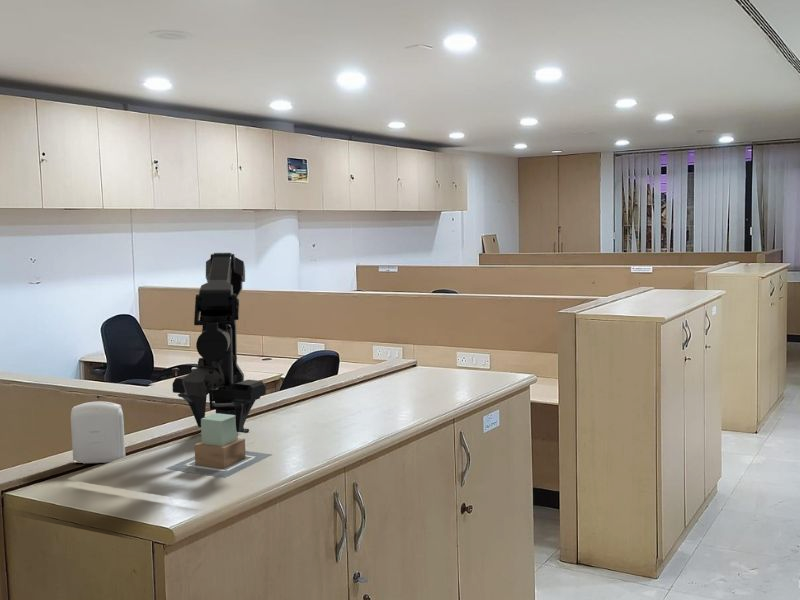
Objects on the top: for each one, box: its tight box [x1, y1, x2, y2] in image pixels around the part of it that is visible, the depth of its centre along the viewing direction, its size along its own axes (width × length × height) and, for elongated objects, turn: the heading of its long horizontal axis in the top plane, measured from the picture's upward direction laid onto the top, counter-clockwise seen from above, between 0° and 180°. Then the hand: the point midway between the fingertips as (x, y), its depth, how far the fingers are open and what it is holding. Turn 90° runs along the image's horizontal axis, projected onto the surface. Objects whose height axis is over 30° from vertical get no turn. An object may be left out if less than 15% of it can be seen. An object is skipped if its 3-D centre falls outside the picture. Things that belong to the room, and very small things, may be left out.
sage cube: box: [200, 412, 239, 446], centre depth 154 cm, size 5×5×5 cm
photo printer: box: [70, 400, 126, 464], centre depth 158 cm, size 10×4×12 cm, turn 96°
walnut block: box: [194, 437, 246, 468], centre depth 154 cm, size 7×7×4 cm
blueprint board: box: [165, 450, 273, 479], centre depth 155 cm, size 16×14×1 cm
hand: (219, 429), depth 154 cm, fingers open, 9 cm apart
